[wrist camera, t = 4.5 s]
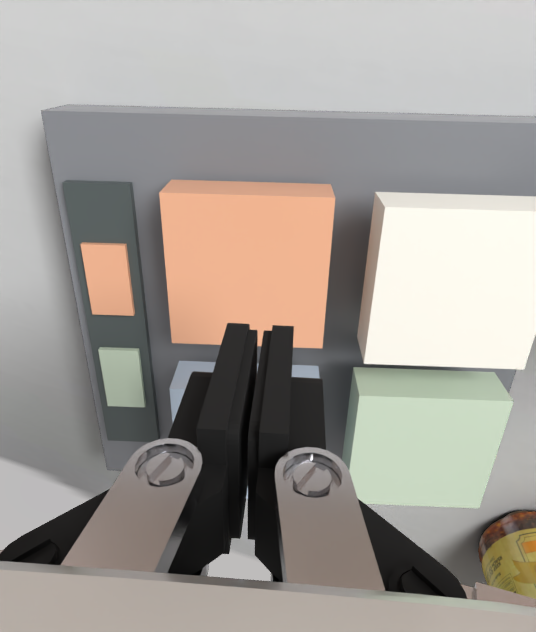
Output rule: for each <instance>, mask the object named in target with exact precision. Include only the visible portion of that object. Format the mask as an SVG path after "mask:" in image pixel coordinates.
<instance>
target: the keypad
mask: <svg viewBox="0 0 536 632" xmlns="http://www.w3.org/2000/svg"><path fill="white" fill-rule="evenodd" d="M41 114H42V119H43V125H44V130H45V135H46V141H47V146H48V152H49V157H50V163H51V168H52V173H53V179H54V184H55V190H56V195H57V200H58V206H59V211H60V217H61V222H62V228H63V233H64V238H65V244H66V249H67V255H68V260H69V266H70V271H71V276H72V282H73V287H74V293H75V298H76V304H77V309H78V314H79V320H80V325H81V331H82V336H83V342H84V347H85V352H86V358H87V363H88V369H89V374H90V380H91V385H92V390H93V396H94V401H95V407H96V412H97V418H98V423H99V428H100V434H101V439H102V445H103V450H104V456H105V461H106V466H107V470H116V471H122V470H123V468H124V467H125V465H126V464H127V462H128V460H129V459H130V457H131V456H132V455H133V454H134V453H135V452H136V451H137V450H138V449H139V448H141V447H142V446H144V445H145V444H147V443H150V442H153V441H155V440H160V439H166V438H168V436H169V433H170V430H171V427H172V425H173V422H172V411H171V401H170V390H169V388H170V385H171V383H172V380H173V377H174V374H175V371H176V368H177V366H178V363H179V361H201V362H216V360H217V357H218V353H219V350H220V346H221V345H211V344H183V343H172V339H171V327H170V315H169V303H168V291H167V279H166V268H165V256H164V244H163V232H162V220H161V208H160V197H159V192H160V191H161V190H162V189H163V188H164V187H165V186H166V185H167V184H168V183H169V182H170V181H171V180H205V181H240V182H275V183H310V184H331V186H332V189H333V192H334V195H335V208H334V220H333V231H332V243H331V255H330V266H329V278H328V289H327V301H326V313H325V324H324V336H323V347H322V348H296V347H293V357H292V365H311V366H318V367H319V377H320V379H322V380H323V397H324V417H325V437H326V450H327V451H329V452H331V453H333V454H335V455H336V456H338V457H339V458H340V459H341V460H342V455H343V446H344V438H345V430H346V422H347V414H348V406H349V398H350V390H351V382H352V374H353V367H366V368H394V369H421V370H449V371H476V372H495V374H496V375H497V377H498V378H499V380H500V381H501V383H502V384H503V386H504V387H505V389H506V390H507V392H508V393H509V391H510V388H511V385H512V382H513V378H514V375H515V372H516V369H494V368H467V367H439V366H411V365H384V364H364V362H363V358H362V354H361V350H360V346H359V343H358V339H357V334H358V326H359V318H360V309H361V301H362V293H363V285H364V277H365V269H366V261H367V253H368V245H369V237H370V229H371V221H372V213H373V205H374V197H375V192H400V193H435V194H469V195H504V196H536V117H531V116H492V115H453V114H414V113H375V112H336V111H297V110H258V109H219V108H180V107H141V106H103V105H64V106H59V107H55V108H50V109H46V110H41ZM260 352H261V346H257V364H259V358H260Z"/></svg>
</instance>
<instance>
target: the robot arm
mask: <svg viewBox="0 0 536 632" xmlns="http://www.w3.org/2000/svg"><path fill="white" fill-rule="evenodd" d="M293 335H294V326H280V325H273V326H272V331H268V330H264V332H263V339H262V345H261V352H260V358H259V365H258V371H257V342H258V332H257V330H250V325H249V324H242V323H227V326H226V330H225V333H224V336H223V340H222V343H221V346H220V350H219V353H218V357H217V360H216V363H215V367H214V370H213V372H198V371H193V372H192V373H191V375H190V378H189V381H188V383H187V386H186V389H185V392H184V394H183V397H182V400H181V403H180V405H179V408H178V411H177V414H176V416H175V419H174V422H173V425H172V427H171V430H170V433H169V436H168V438H166V439H160V440H155V441H153V442H150V443H147V444H145V445H144V446H142V447H141V448H139V449H138V450H137V451H136V452H135V453H134V454H133V455H132V456H131V457H130V459H129V460H128V462H127V464H126V465H125V467H124V468H123V470H122V471H121V473H120V474H119V476H118V477H117V479H116V480H115V482H114V484H113V485H112V487H111V488H110V489H109V490H107V491H105V492H103V493H101V494H100V495H98V496H96V497H94V498H92V499H90V500H88V501H86V502H85V503H83V504H81V505H79V506H77V507H75V508H73V509H71V510H70V511H68V512H66V513H64V514H62V515H60V516H58V517H56V518H55V519H53V520H51V521H49V522H47V523H45V524H44V525H41V526H40V527H38V528H36V529H34V530H32V531H30V532H29V533H26V534H25V535H23V536H21V537H20V538H18V539H17V540H15V541H14V542H12V543H11V544H9V545H8V546H7V547H6V548H5V549H4V550H0V632H536V599H534V598H531V597H527V596H524V595H520V594H517V593H513V592H510V591H506V590H503V589H499V588H496V587H492V586H489V585H485V584H482V583H479V582H476V583H475V586H474V588H473V587H469V586H466V585H462V584H460V583H459V581H458V579H457V578H456V577H455V576H454V575H453V574H452V573H451V572H450V571H449V570H448V569H447V568H445V567H444V566H443V565H441V564H440V563H439V562H438V561H436V560H435V559H434V558H433V557H431V556H430V555H429V554H428V553H426V552H425V551H424V550H422V549H421V548H420V547H419V546H417V545H416V544H415V543H414V542H412V541H411V540H410V539H409V538H407V537H406V536H405V535H404V534H402V533H401V532H400V531H398V530H397V529H396V528H395V527H393V526H392V525H391V524H390V523H388V522H387V521H386V520H385V519H383V518H382V517H381V516H379V515H378V514H377V513H376V512H374V511H373V510H372V509H371V508H369V507H368V506H367V505H366V504H364V503H363V502H362V501H361V500H359V499H358V498H357V495H356V491H355V488H354V485H353V482H352V478H351V475H350V472H349V470H348V468H347V466H346V464H345V463H344V462H343V461H342V460H341V459H340V458H339V457H338V456H336V455H335V454H333V453H331V452H329V451H327V450H326V437H325V417H324V397H323V380H322V379H320V378H303V377H292V357H293ZM247 488H248V539H253V540H255V556H256V557H257V558H258V559H259V560H260V561H261V562H262V563H263V564H264V565H265V566H266V567H267V569H268V570H269V571H270V572H271V582H270V581H258V580H257V581H256V580H244V579H233V578H220V577H208V576H207V574H208V569H209V566H208V564H209V563H210V562H211V561H213V560H214V559H216V558H217V557H218V556H220V555H221V554H229V551H230V544H231V538H240V537H241V532H242V524H243V517H244V510H245V502H246V495H247Z"/></svg>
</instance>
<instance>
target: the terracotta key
mask: <svg viewBox="0 0 536 632" xmlns="http://www.w3.org/2000/svg"><path fill="white" fill-rule="evenodd" d="M159 197H160V208H161V220H162V232H163V244H164V256H165V268H166V279H167V291H168V303H169V315H170V327H171V339H172V343H183V344H211V345H221V343H222V340H223V336H224V333H225V330H226V326H227V323H242V324H249V325H250V330H257V332H258V342H257V346H261V345H262V339H263V332H264V330H268V331H272V326H273V325H280V326H294V335H293V347H296V348H322V347H323V336H324V324H325V313H326V301H327V289H328V278H329V266H330V255H331V243H332V231H333V220H334V208H335V195H334V192H333V189H332V186H331V184H310V183H275V182H240V181H205V180H171V181H170V182H169V183H168V184H167V185H166V186H165V187H164V188H163V189H162V190H161V191H160V192H159Z"/></svg>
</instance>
